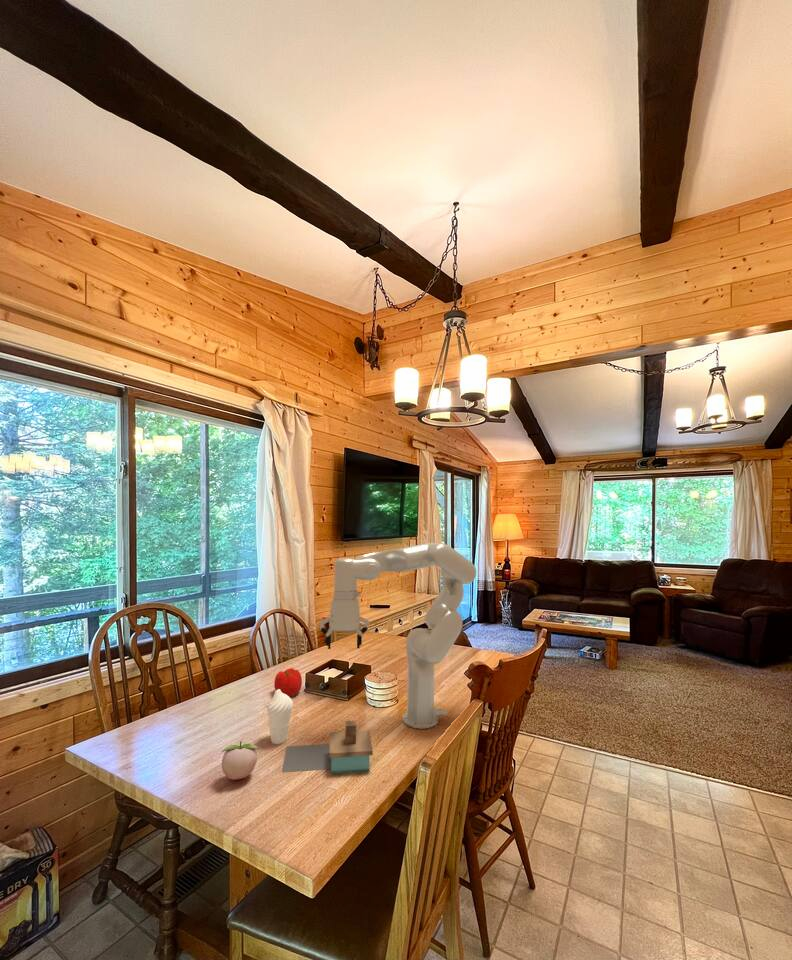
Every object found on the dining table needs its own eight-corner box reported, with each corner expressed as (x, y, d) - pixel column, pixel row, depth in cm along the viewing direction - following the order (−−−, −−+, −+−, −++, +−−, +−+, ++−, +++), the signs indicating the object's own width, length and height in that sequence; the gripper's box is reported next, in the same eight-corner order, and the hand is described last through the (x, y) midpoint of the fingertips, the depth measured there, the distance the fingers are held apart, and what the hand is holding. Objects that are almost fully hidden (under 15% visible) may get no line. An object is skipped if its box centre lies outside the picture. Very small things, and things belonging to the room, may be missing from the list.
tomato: (287, 686, 183) (288, 664, 184) (307, 693, 176) (308, 670, 177) (267, 694, 175) (268, 671, 176) (286, 702, 168) (287, 678, 169)
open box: (366, 752, 133) (366, 735, 133) (369, 772, 122) (369, 754, 123) (331, 754, 131) (331, 737, 132) (331, 775, 121) (331, 756, 121)
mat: (332, 745, 137) (332, 743, 137) (332, 770, 123) (332, 768, 123) (286, 747, 135) (286, 746, 135) (281, 773, 121) (281, 772, 121)
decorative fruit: (220, 793, 112) (222, 753, 113) (219, 776, 119) (221, 738, 120) (258, 785, 116) (260, 746, 116) (255, 769, 123) (257, 732, 124)
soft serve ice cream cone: (296, 737, 141) (298, 686, 142) (282, 750, 133) (284, 696, 134) (274, 733, 144) (276, 683, 145) (259, 745, 136) (261, 692, 137)
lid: (369, 734, 134) (369, 713, 134) (372, 755, 122) (373, 732, 123) (329, 736, 132) (330, 715, 133) (329, 757, 120) (330, 734, 121)
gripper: (369, 593, 151) (368, 643, 150) (319, 593, 149) (317, 645, 147) (371, 597, 144) (370, 650, 142) (318, 597, 141) (317, 651, 140)
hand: (343, 647), depth 145 cm, fingers open, 9 cm apart
